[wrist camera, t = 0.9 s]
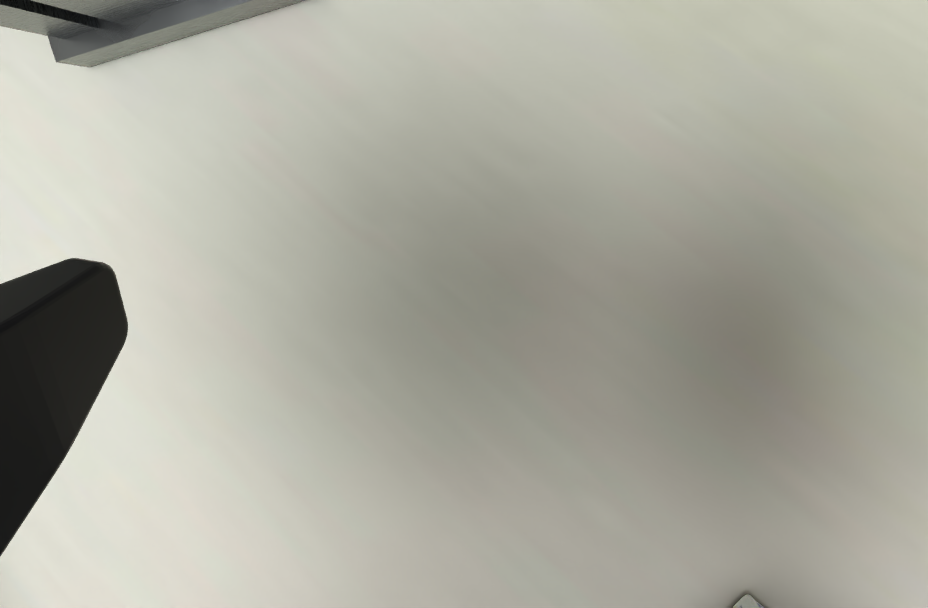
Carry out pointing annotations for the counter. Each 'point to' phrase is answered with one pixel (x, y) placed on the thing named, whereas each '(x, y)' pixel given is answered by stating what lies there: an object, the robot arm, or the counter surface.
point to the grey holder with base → (123, 23)
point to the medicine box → (747, 602)
